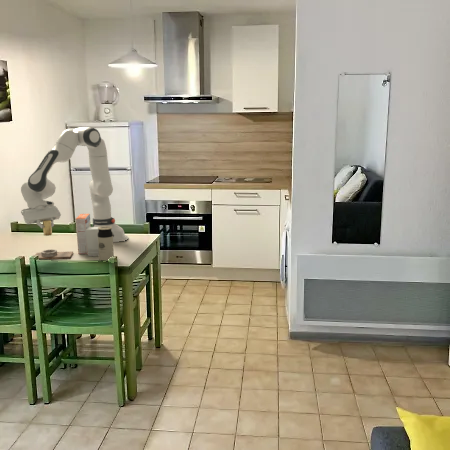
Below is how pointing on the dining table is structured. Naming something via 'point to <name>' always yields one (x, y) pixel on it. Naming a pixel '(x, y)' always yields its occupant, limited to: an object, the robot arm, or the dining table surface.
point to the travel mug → (105, 242)
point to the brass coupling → (47, 227)
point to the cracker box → (82, 232)
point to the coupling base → (65, 256)
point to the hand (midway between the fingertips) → (47, 226)
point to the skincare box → (92, 241)
